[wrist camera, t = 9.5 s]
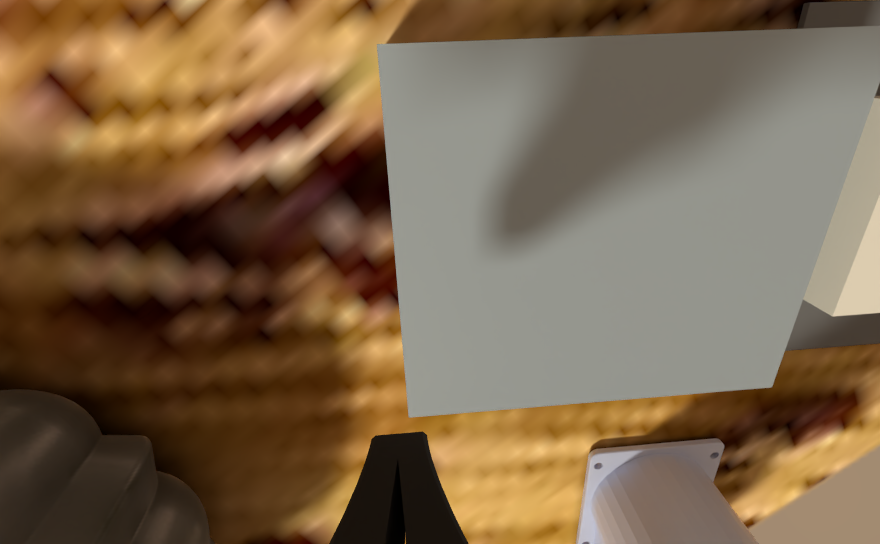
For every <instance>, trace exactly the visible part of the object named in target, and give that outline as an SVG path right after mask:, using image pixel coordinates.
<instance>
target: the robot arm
mask: <svg viewBox="0 0 880 544" xmlns="http://www.w3.org/2000/svg"><path fill="white" fill-rule="evenodd" d="M723 450H724V444H723V443H722V442H721V440H719V439H716V438H713V439H701V440H690V441H679V442H668V443H656V444H645V445H634V446H623V447H611V448H600V449H594V450H593V451H591V452H590V453H589V456H588V463H587V470H586V477H585V483H584V490H583V497H582V504H581V511H580V518H579V525H578V532H577V539H576V544H758V542H757V541H756V539H755V538H754V537H753V535H752V534H751V533H750V531H749V530H748V529H747V527H746V526H745V525H744V523H743V522H742V521H741V519H740V518H739V517H738V515H737V514H736V513H735V511H734V510H733V509H732V507H731V506H730V505H729V503H728V502H727V501H726V499H725V498H724V496H723V495H722V494H721V492H720V491H719V490H718V488H717V487H716V486H715V484H714V483H713V482H714V478H715V475H716V472H717V469H718V466H719V463H720V460H721V457H722V453H723ZM596 463H597V464H596ZM405 532H406V544H468V542H467V540H466V538H465V536H464V534H463V532H462V530H461V528H460V526H459V524H458V522H457V520H456V518H455V516H454V514H453V511H452V509H451V507H450V505H449V502H448V500H447V498H446V495H445V493H444V491H443V488H442V486H441V483H440V481H439V478H438V476H437V473H436V470H435V467H434V464H433V461H432V457H431V454H430V450H429V445H428V440H427V435H426V434H425V433H424V432H414V433H402V434H390V435H378V436H375V437H374V438H373V439H372V440H371V444H370V448H369V452H368V455H367V458H366V461H365V464H364V467H363V470H362V472H361V475H360V477H359V480H358V483H357V485H356V487H355V490H354V492H353V494H352V497H351V499H350V501H349V504H348V506H347V508H346V511H345V513H344V515H343V517H342V519H341V521H340V523H339V525H338V527H337V529H336V531H335V533H334V535H333V537H332V539H331V541H330V543H329V544H405Z"/></svg>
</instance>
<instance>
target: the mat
mask: <svg viewBox="0 0 880 544" xmlns="http://www.w3.org/2000/svg"><path fill="white" fill-rule="evenodd" d="M859 26H880V0H870V1H840V2H810V3H804V5H803V8H802V12H801V16H800V20H799V23H798V27H797V29H805V28H832V27H859ZM875 96H880V83H879V86H878V89H877V92H876V95H875ZM878 343H880V313H871V314H858V315H846V316H833V317H832V316H831V315H829V314H827V313H826V312H824V311H822V310H820V309H819V308H817V307H815V306H814V305H812V304H810V303H808V302H807V301H805V300H803V301H802V304H801V307H800V310H799V312H798V315H797V318H796V321H795V324H794V326H793V329H792V332H791V335H790V338H789V341H788V343H787V346H786V349H785V351H788V350H801V349H814V348H827V347H839V346H852V345H865V344H878Z"/></svg>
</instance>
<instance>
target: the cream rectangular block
mask: <svg viewBox="0 0 880 544" xmlns="http://www.w3.org/2000/svg"><path fill="white" fill-rule="evenodd" d="M803 300H805V301H807V302H808V303H810V304H812V305H814V306H815V307H817V308H819V309H820V310H822V311H824V312H826V313H827V314H829V315H831V316H832V317H833V316H846V315H858V314H871V313H880V96H875V97H874V100H873V103H872V106H871V109H870V112H869V114H868V117H867V120H866V123H865V126H864V128H863V131H862V134H861V137H860V140H859V143H858V145H857V148H856V151H855V154H854V157H853V160H852V162H851V165H850V168H849V171H848V174H847V177H846V179H845V182H844V185H843V188H842V191H841V194H840V196H839V199H838V202H837V205H836V208H835V211H834V213H833V216H832V219H831V222H830V225H829V227H828V230H827V233H826V236H825V239H824V242H823V244H822V247H821V250H820V253H819V256H818V259H817V261H816V264H815V267H814V270H813V273H812V276H811V278H810V281H809V284H808V287H807V290H806V293H805V295H804V298H803Z"/></svg>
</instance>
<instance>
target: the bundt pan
mask: <svg viewBox="0 0 880 544" xmlns="http://www.w3.org/2000/svg"><path fill="white" fill-rule="evenodd" d="M0 544H215V543H214V541H213V540H212V539H211V538H210V533H209V524H208V519H207V515H206V512H205V509H204V507H203V505H202V503H201V501H200V499H199V497H198V496H197V495H196V494H195V492H194V491H193V490H192V489H191V488H190V487H189V486H188V485H187V484H185V483H184V482H183V481H181V480H180V479H178V478H176V477H174V476H172V475H170V474H167V473H163V472H160V471H156V467H155V461H154V455H153V448H152V443H151V441H150V440H149V438H147V437H146V436H142V435H102V434H101V431H100V428H99V427H98V425H97V424H96V422H95V420H94V419H93V417H92V416H91V415H90V414H89V413H88V412H87V411H86V410H85V409H83V408H82V407H81V406H79V405H78V404H77V403H75V402H73V401H71V400H69V399H67V398H65V397H62V396H60V395H56V394H53V393H49V392H44V391H38V390H25V389H12V390H0Z"/></svg>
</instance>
